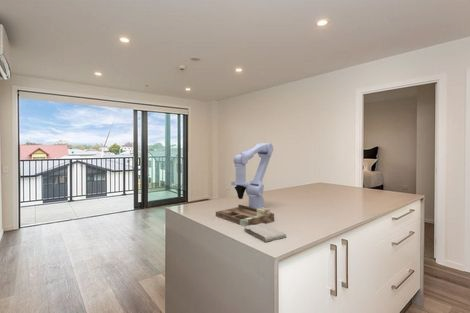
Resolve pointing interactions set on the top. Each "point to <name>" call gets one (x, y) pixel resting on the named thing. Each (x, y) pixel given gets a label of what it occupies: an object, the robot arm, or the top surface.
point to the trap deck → (244, 216)
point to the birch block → (262, 212)
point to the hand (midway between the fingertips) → (240, 198)
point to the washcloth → (264, 232)
